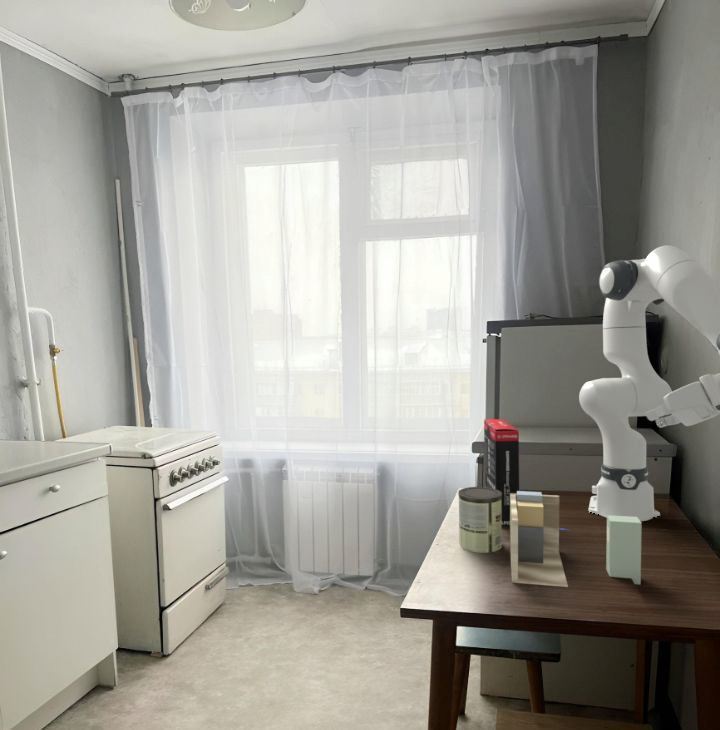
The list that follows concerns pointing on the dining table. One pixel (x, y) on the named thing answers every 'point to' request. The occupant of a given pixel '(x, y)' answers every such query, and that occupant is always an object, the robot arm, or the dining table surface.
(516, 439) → the graphics card box
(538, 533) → the bookend
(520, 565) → the shelf
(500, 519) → the coffee can
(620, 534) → the boxed book
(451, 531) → the dining table surface
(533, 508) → the shelved books
